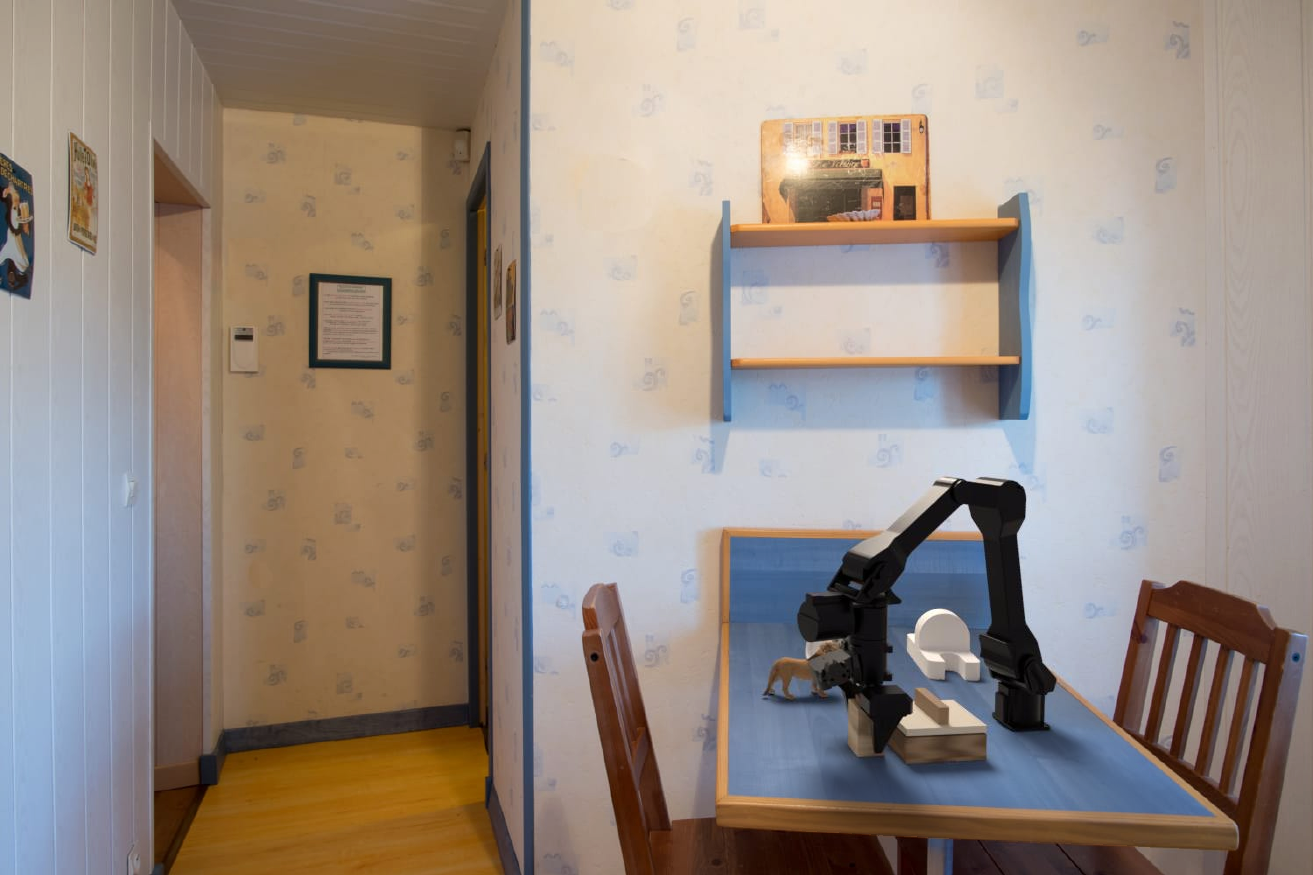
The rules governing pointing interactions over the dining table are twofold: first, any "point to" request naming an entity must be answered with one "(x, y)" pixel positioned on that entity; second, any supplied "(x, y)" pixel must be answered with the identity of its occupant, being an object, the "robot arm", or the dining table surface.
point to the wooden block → (859, 730)
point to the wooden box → (938, 747)
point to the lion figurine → (796, 671)
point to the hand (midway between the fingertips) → (865, 739)
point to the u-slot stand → (943, 646)
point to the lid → (938, 717)
